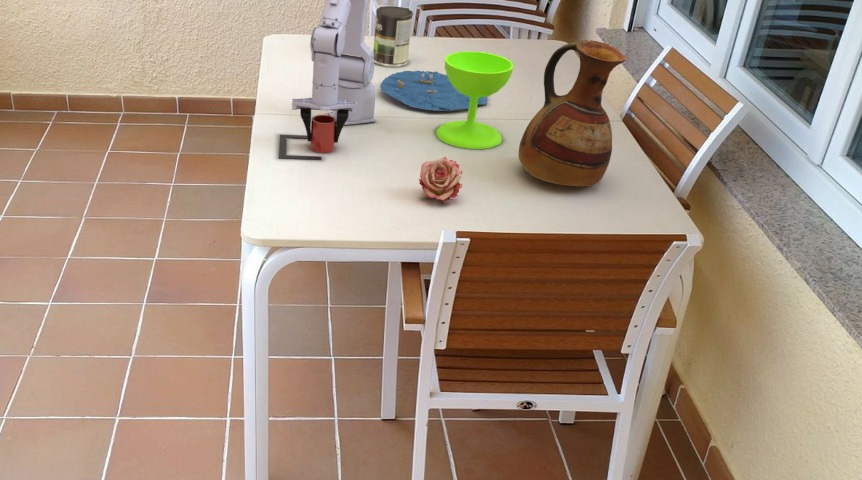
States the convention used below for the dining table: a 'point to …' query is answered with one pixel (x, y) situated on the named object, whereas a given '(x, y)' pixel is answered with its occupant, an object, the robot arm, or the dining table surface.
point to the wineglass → (474, 96)
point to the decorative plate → (426, 91)
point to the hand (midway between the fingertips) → (322, 140)
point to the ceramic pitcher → (572, 121)
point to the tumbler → (323, 133)
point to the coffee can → (392, 36)
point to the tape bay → (283, 155)
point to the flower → (440, 179)
